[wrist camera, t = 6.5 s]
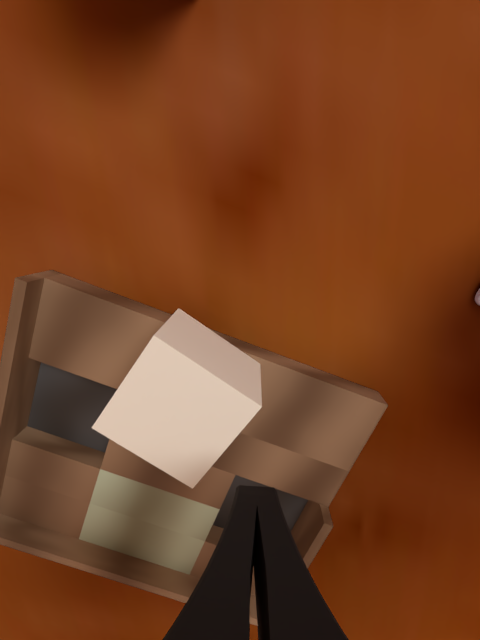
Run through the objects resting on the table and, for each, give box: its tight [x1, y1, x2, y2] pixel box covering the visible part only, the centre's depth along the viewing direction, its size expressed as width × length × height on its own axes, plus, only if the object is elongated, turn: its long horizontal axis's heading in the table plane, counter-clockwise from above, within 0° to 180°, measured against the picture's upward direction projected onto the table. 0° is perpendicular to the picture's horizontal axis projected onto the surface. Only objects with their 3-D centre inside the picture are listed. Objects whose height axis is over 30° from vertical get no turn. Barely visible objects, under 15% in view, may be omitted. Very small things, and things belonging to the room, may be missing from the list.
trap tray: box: [0, 270, 388, 626], centre depth 21 cm, size 21×18×3 cm
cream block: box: [92, 308, 262, 489], centre depth 16 cm, size 6×6×4 cm
